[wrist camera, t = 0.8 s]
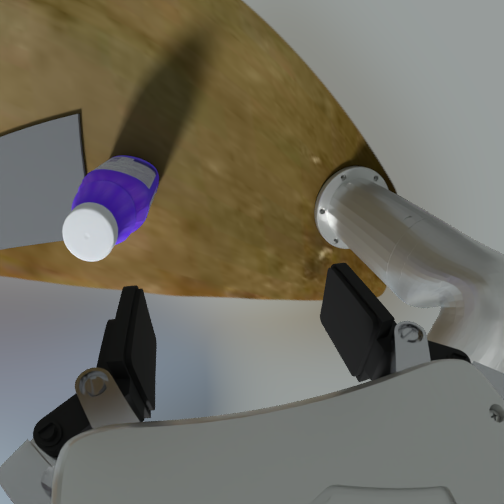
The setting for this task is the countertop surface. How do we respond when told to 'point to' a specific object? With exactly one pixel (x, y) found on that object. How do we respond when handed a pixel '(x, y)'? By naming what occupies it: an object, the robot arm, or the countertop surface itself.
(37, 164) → the mat
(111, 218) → the bottle
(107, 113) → the countertop surface
